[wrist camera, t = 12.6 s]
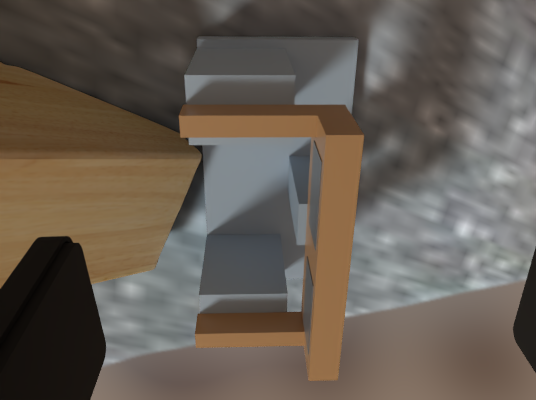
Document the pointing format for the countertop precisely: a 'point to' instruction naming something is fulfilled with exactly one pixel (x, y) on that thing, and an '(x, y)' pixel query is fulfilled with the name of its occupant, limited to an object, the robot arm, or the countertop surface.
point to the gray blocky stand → (260, 162)
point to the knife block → (86, 176)
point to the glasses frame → (317, 228)
